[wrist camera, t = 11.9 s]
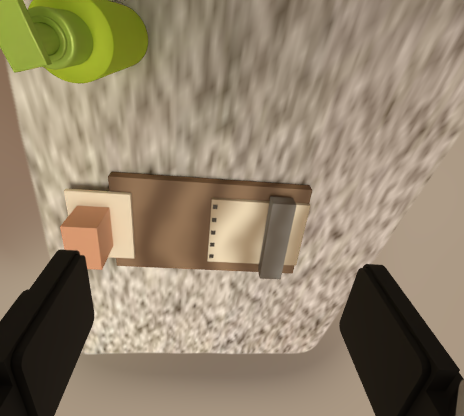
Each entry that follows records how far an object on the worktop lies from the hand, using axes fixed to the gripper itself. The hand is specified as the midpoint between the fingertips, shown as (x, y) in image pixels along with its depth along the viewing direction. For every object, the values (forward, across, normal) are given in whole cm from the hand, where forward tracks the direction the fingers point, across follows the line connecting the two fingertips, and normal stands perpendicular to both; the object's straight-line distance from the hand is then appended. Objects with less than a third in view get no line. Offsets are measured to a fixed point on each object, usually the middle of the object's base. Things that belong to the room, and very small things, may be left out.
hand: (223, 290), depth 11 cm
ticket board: (+30, 0, +16) cm, 34 cm away
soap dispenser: (+31, +11, -7) cm, 33 cm away
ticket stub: (+29, +14, +16) cm, 36 cm away
